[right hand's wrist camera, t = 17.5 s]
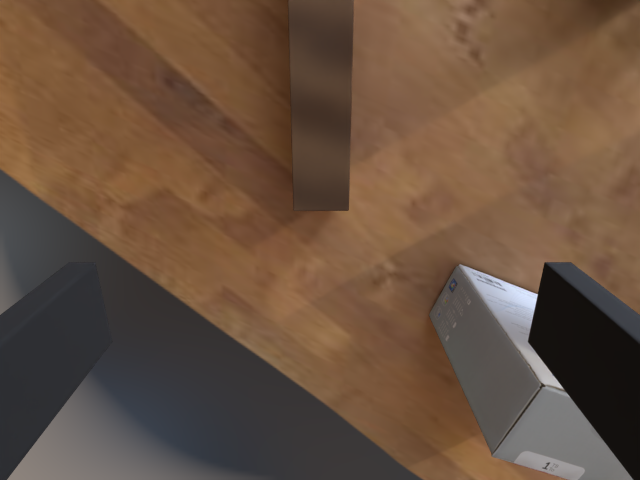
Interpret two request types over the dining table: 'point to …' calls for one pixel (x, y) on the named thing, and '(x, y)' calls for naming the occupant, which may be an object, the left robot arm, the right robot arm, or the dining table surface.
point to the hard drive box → (515, 381)
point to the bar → (320, 102)
